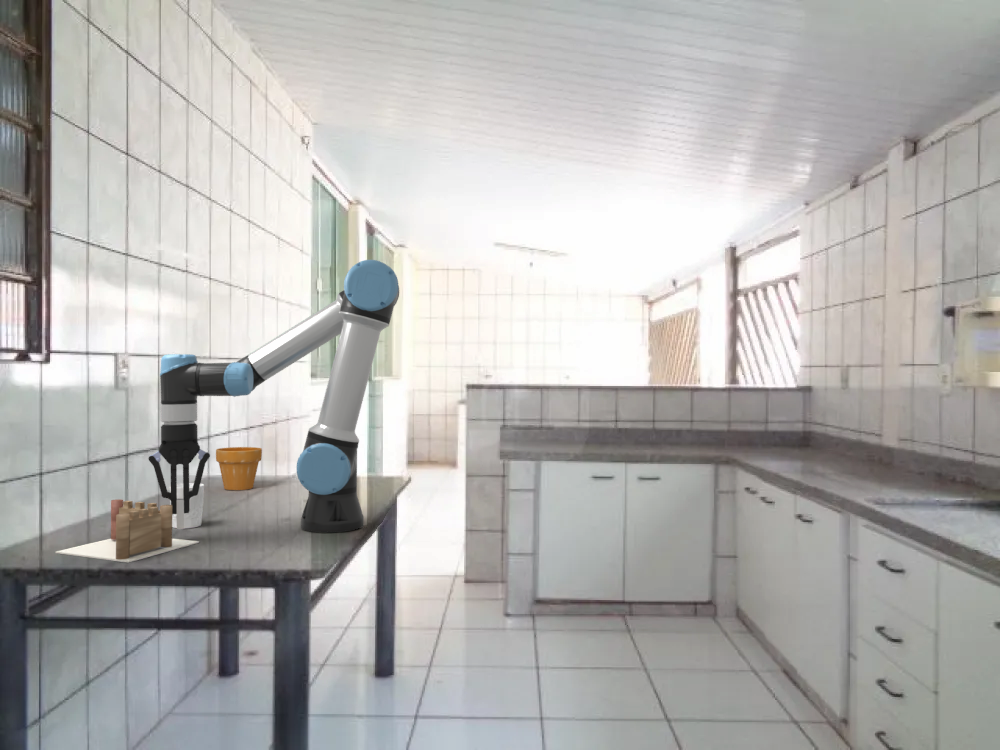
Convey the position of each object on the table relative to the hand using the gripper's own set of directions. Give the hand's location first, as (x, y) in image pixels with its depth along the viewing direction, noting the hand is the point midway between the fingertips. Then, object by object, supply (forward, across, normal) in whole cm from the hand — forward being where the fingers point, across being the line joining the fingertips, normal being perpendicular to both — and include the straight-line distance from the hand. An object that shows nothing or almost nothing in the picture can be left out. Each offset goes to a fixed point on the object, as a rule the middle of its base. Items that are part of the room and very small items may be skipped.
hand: (180, 528), depth 166 cm
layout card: (+3, +10, +4) cm, 11 cm away
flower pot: (+3, -19, -76) cm, 78 cm away
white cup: (+3, -2, -17) cm, 17 cm away
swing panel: (+2, +9, 0) cm, 9 cm away
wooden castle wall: (+3, +7, +10) cm, 13 cm away
